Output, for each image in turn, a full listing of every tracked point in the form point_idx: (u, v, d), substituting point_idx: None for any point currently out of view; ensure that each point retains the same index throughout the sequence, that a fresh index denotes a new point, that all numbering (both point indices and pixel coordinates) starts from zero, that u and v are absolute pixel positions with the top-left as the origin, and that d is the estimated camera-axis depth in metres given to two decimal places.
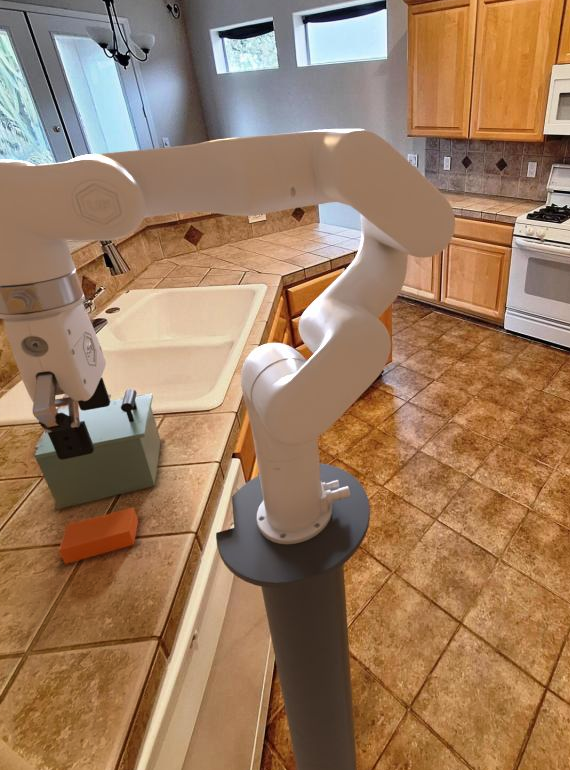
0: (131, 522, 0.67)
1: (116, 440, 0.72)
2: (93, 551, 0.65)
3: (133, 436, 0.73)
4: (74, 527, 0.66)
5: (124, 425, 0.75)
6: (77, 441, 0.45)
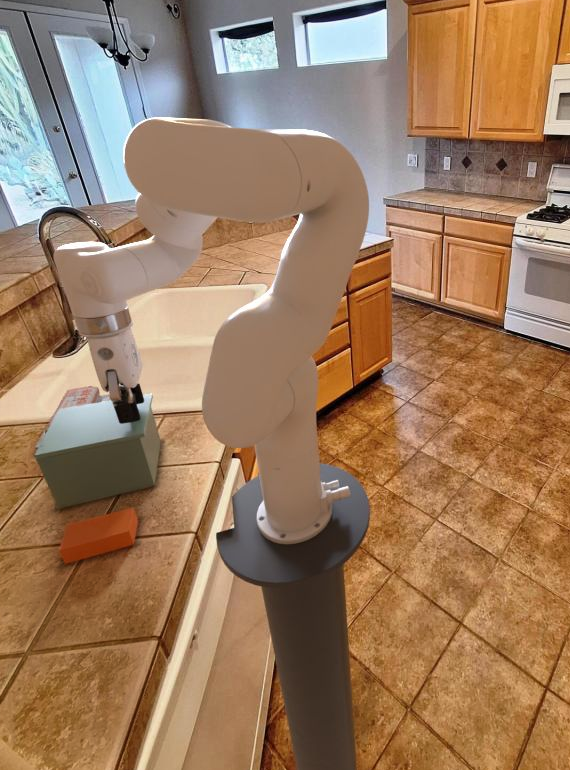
0: (131, 522, 0.67)
1: (116, 440, 0.72)
2: (93, 551, 0.65)
3: (133, 436, 0.73)
4: (74, 527, 0.66)
5: (124, 425, 0.75)
6: (131, 412, 0.74)
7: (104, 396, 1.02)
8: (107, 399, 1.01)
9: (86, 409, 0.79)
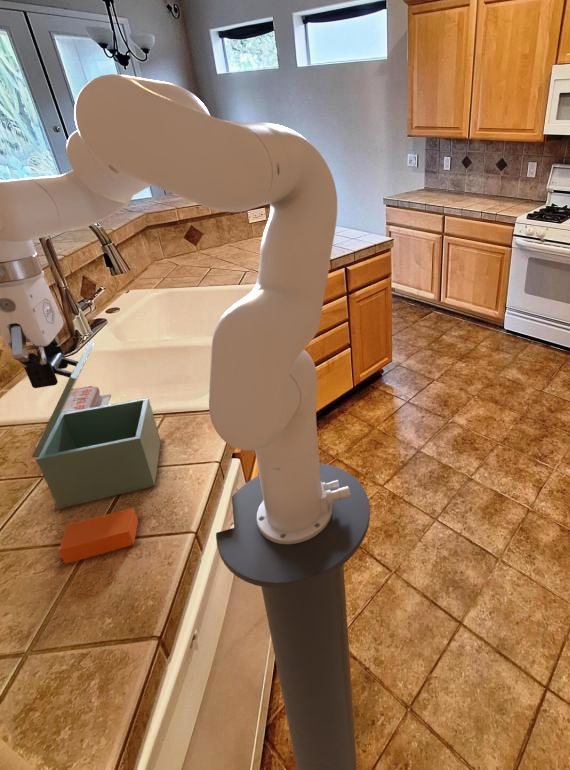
0: (131, 522, 0.67)
1: (61, 399, 0.66)
2: (93, 551, 0.65)
3: (67, 386, 0.66)
4: (74, 527, 0.66)
5: None
6: (44, 374, 0.66)
7: (104, 396, 1.02)
8: (107, 399, 1.01)
9: None
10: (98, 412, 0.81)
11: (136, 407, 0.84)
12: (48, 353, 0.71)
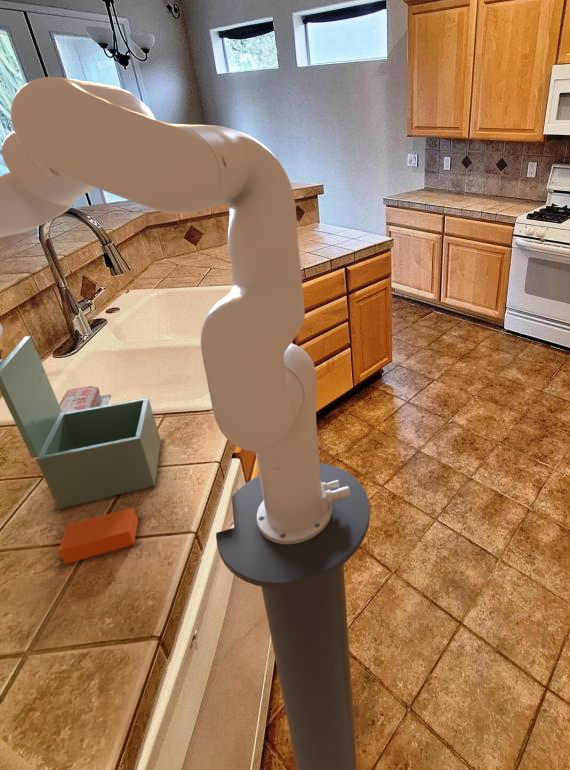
0: (131, 522, 0.67)
1: (6, 398, 0.63)
2: (93, 551, 0.65)
3: None
4: (74, 527, 0.66)
5: None
6: None
7: (104, 396, 1.02)
8: (107, 399, 1.01)
9: None
10: (98, 412, 0.81)
11: (136, 407, 0.84)
12: None
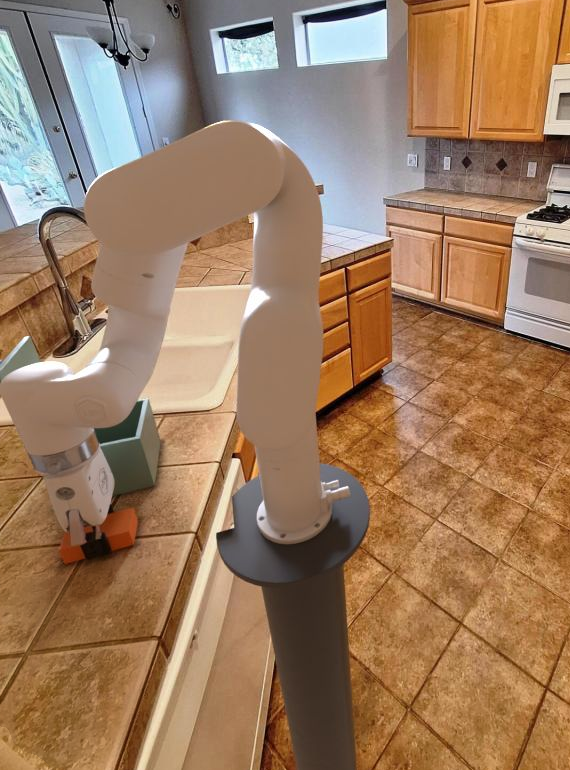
0: (131, 522, 0.67)
1: None
2: None
3: None
4: None
5: None
6: (99, 548, 0.63)
7: None
8: None
9: None
10: None
11: (136, 407, 0.84)
12: None
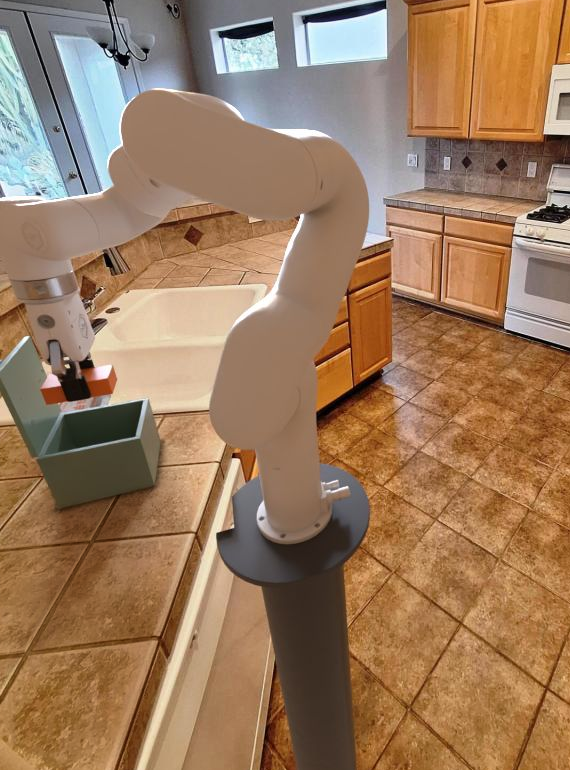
0: (110, 374, 0.71)
1: (5, 398, 0.63)
2: None
3: None
4: None
5: None
6: (79, 389, 0.67)
7: (104, 396, 1.02)
8: (107, 399, 1.01)
9: None
10: (98, 412, 0.81)
11: (136, 407, 0.84)
12: (80, 367, 0.72)
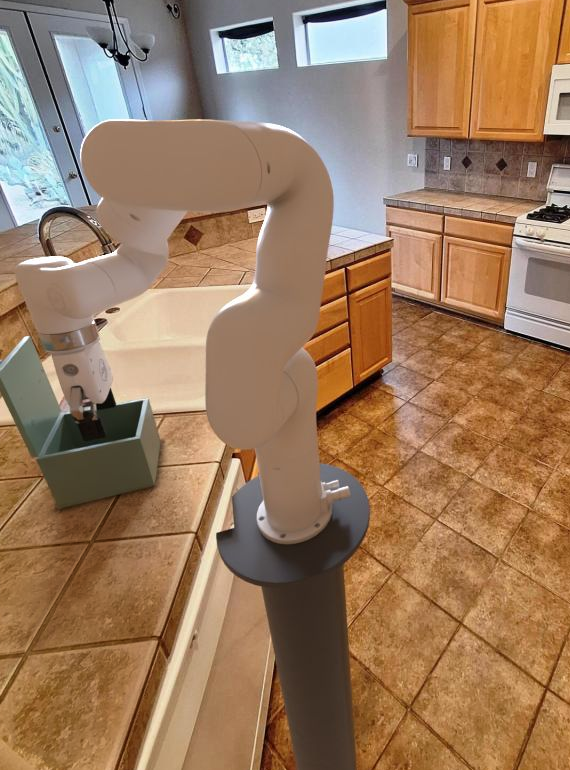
0: None
1: (5, 398, 0.63)
2: None
3: None
4: None
5: None
6: (95, 429, 0.71)
7: None
8: None
9: None
10: (98, 412, 0.81)
11: (136, 407, 0.84)
12: None
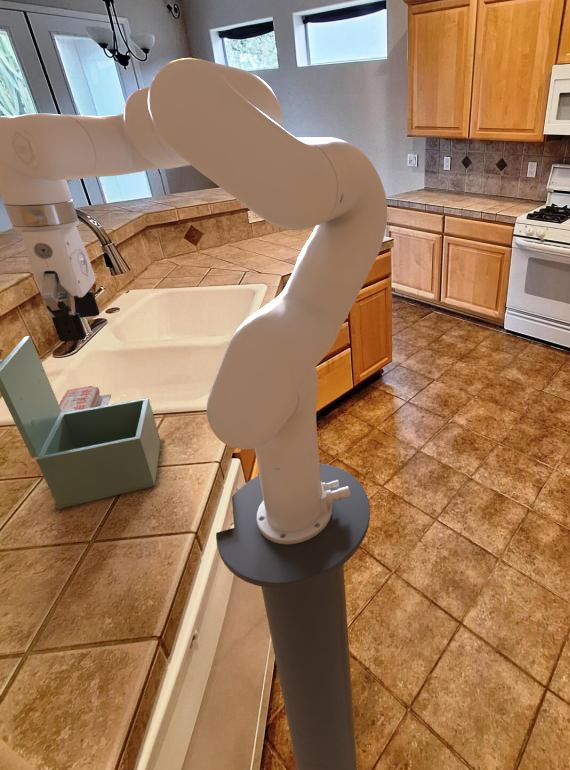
0: None
1: (5, 398, 0.63)
2: None
3: None
4: None
5: None
6: (73, 327, 0.62)
7: (104, 396, 1.02)
8: (107, 399, 1.01)
9: None
10: (98, 412, 0.81)
11: (136, 407, 0.84)
12: (80, 299, 0.70)
